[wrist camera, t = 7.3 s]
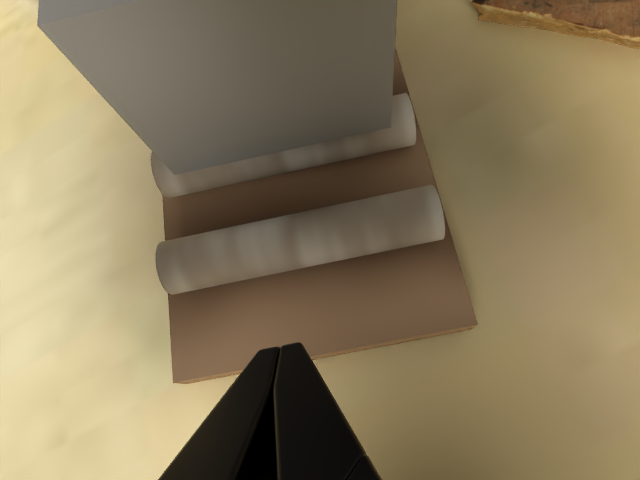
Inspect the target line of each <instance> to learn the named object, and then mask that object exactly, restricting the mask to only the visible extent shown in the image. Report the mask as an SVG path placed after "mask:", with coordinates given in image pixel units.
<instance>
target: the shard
mask: <svg viewBox="0 0 640 480" xmlns="http://www.w3.org/2000/svg"><path fill="white" fill-rule="evenodd" d="M472 4H473V5H474V6H475V7H476V8H477V9H478V11H479V12H480V16H479V20H483V21H491V22H496V23H502V24H506V25H513V26H520V27H531V28H536V29H545V30H551V31H557V32H560V33H564V34H573V35H576V36H579V37H595V38H597V39H601V40H604V41H608V42H613V43H616V44H622V45H625V46H627V47H631V48H637V49H640V0H473V1H472Z"/></svg>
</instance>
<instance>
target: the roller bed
mask: <svg viewBox="0 0 640 480" xmlns="http://www.w3.org/2000/svg"><path fill="white" fill-rule="evenodd" d="M151 167H152V172H153V176H154V179H155V181H156V184H157V186H158V188H159V190H160V191H161V193H162V194H163V211H164V229H165V241H162V242H160V243H159V244H158V246H157V249H156V268H157V272H158V276H159V279H160V282H161V284H162V286H163V288H164V289H165V290H166V291H167V292H168V300H169V318H170V335H171V353H172V371H173V383H181V384H189V383H194V382H199V381H204V380H209V379H215V378H220V377H225V376H230V375H235V374H240V373H241V372H242V371H243V370H244V369H245V367H246V366H247V365H248V363H249V362H250V361H251V360H252V358H253V357H254V356H255V354H256V353H257V352H258V351H259V350H261V349H265V348H270V347H276V346H278V347H280V348H281V346H283V345H286V344H291V343H296V342H301V343H302V344H303V346H304V347H305V349H306V351H307V353H308V354H309V356H310V358H311V359H312V360H313V359H318V358H324V357H329V356H334V355H339V354H344V353H350V352H355V351H360V350H365V349H370V348H376V347H381V346H386V345H391V344H396V343H402V342H407V341H412V340H417V339H422V338H427V337H433V336H438V335H443V334H448V333H453V332H459V331H464V330H469V329H472V328H473V327H474V326H476V325H477V321H476V317H475V314H474V311H473V307H472V304H471V301H470V297H469V294H468V291H467V287H466V284H465V280H464V277H463V274H462V270H461V267H460V264H459V260H458V257H457V254H456V250H455V247H454V243H453V240H452V237H451V233H450V230H449V227H448V223H447V220H446V217H445V213H444V210H443V206H442V203H441V200H440V196H439V193H438V190H437V186H436V183H435V180H434V176H433V173H432V169H431V166H430V163H429V159H428V156H427V153H426V149H425V146H424V143H423V139H422V136H421V133H420V129H419V126H418V122H417V119H416V116H415V112H414V109H413V106H412V102H411V99H410V96H409V92H408V89H407V85H406V82H405V79H404V75H403V72H402V69H401V65H400V62H399V59H398V55H397V52H396V48H395V54H394V75H393V95H392V115H391V128H386V129H382V130H377V131H373V132H368V133H363V134H359V135H354V136H350V137H345V138H341V139H336V140H332V141H327V142H322V143H318V144H313V145H309V146H304V147H300V148H295V149H291V150H286V151H281V152H277V153H272V154H268V155H263V156H259V157H254V158H250V159H245V160H241V161H236V162H231V163H227V164H222V165H218V166H213V167H209V168H204V169H200V170H195V171H190V172H186V173H181V174H177V175H174V174H173V173H172V172H171V171H170V170H169V169H168V167H167V166H166V165H165V164H164V163H163V162H162V161H161V160H160V159H159V158H158V157H157V155H156V154H155V153H154V152H153V151H152V154H151Z"/></svg>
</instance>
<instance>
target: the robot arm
mask: <svg viewBox="0 0 640 480" xmlns="http://www.w3.org/2000/svg"><path fill="white" fill-rule="evenodd" d="M158 480H382V479H381V477H380V475H379V474H378V472H377V471H376V469H375V467H374V465H373V464H372V462H371V460H370V459H369V457H368V456H367V455H366V452H365V450H364V449H363V447H362V445H361V444H360V442H359V440H358V438H357V437H356V435H355V433H354V432H353V430H352V428H351V426H350V425H349V423H348V421H347V420H346V418H345V416H344V414H343V413H342V411H341V409H340V408H339V406H338V404H337V402H336V401H335V399H334V397H333V395H332V394H331V392H330V390H329V389H328V387H327V385H326V383H325V382H324V380H323V378H322V377H321V375H320V373H319V371H318V370H317V368H316V366H315V365H314V363H313V361H312V359H311V358H310V356H309V354H308V353H307V351H306V349H305V347H304V346H303V344H302V343H301V342H296V343H291V344H286V345H283V346H281V348H280V347H278V346H276V347H270V348H265V349H261V350H259V351H258V352H257V353H256V354H255V356H254V357H253V358H252V360H251V361H250V362H249V363H248V365H247V366H246V367H245V369H244V370H243V371H242V372H241V374H240V375H239V376H238V378H237V379H236V380H235V381H234V383H233V384H232V385H231V387H230V388H229V389H228V390H227V392H226V393H225V394H224V396H223V397H222V398H221V399H220V401H219V402H218V403H217V405H216V406H215V407H214V408H213V410H212V411H211V412H210V414H209V415H208V416H207V417H206V419H205V420H204V421H203V423H202V424H201V425H200V426H199V428H198V429H197V430H196V432H195V433H194V434H193V435H192V437H191V438H190V439H189V441H188V442H187V443H186V444H185V446H184V447H183V448H182V450H181V451H180V452H179V453H178V455H177V456H176V457H175V459H174V460H173V461H172V462H171V464H170V465H169V466H168V468H167V469H166V470H165V471H164V473H163V474H162V475H161V477H160V478H159V479H158Z"/></svg>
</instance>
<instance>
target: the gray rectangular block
mask: <svg viewBox="0 0 640 480" xmlns="http://www.w3.org/2000/svg"><path fill="white" fill-rule="evenodd" d="M396 13H397V0H39V8H38V24H37V26H38V27H39V28H40V29H41V30H42V31H43V32H44V33H45V34H46V36H47V37H48V38H49V39H50V40H51V41H52V42H53V43H54V44H55V45H56V46H57V48H58V49H59V50H60V51H61V52H62V53H63V54H64V55H65V56H66V57H67V58H68V60H69V61H70V62H71V63H72V64H73V65H74V66H75V67H76V68H77V69H78V70H79V72H80V73H81V74H82V75H83V76H84V77H85V78H86V79H87V80H88V81H89V82H90V83H91V85H92V86H93V87H94V88H95V89H96V90H97V91H98V92H99V93H100V94H101V95H102V97H103V98H104V99H105V100H106V101H107V102H108V103H109V104H110V105H111V106H112V107H113V109H114V110H115V111H116V112H117V113H118V114H119V115H120V116H121V117H122V118H123V119H124V121H125V122H126V123H127V124H128V125H129V126H130V127H131V128H132V129H133V130H134V131H135V133H136V134H137V135H138V136H139V137H140V138H141V139H142V140H143V141H144V142H145V143H146V145H147V146H148V147H149V148H150V149H151V150H152V151H153V152H154V153H155V154H156V155H157V157H158V158H159V159H160V160H161V161H162V162H163V163H164V164H165V165H166V166H167V167H168V169H169V170H170V171H171V172H172V173H173V174H174V175H177V174H181V173H186V172H190V171H195V170H200V169H204V168H209V167H213V166H218V165H222V164H227V163H231V162H236V161H241V160H245V159H250V158H254V157H259V156H263V155H268V154H272V153H277V152H281V151H286V150H291V149H295V148H300V147H304V146H309V145H313V144H318V143H322V142H327V141H332V140H336V139H341V138H345V137H350V136H354V135H359V134H363V133H368V132H373V131H377V130H382V129H386V128H391V115H392V95H393V75H394V54H395V34H396Z"/></svg>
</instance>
